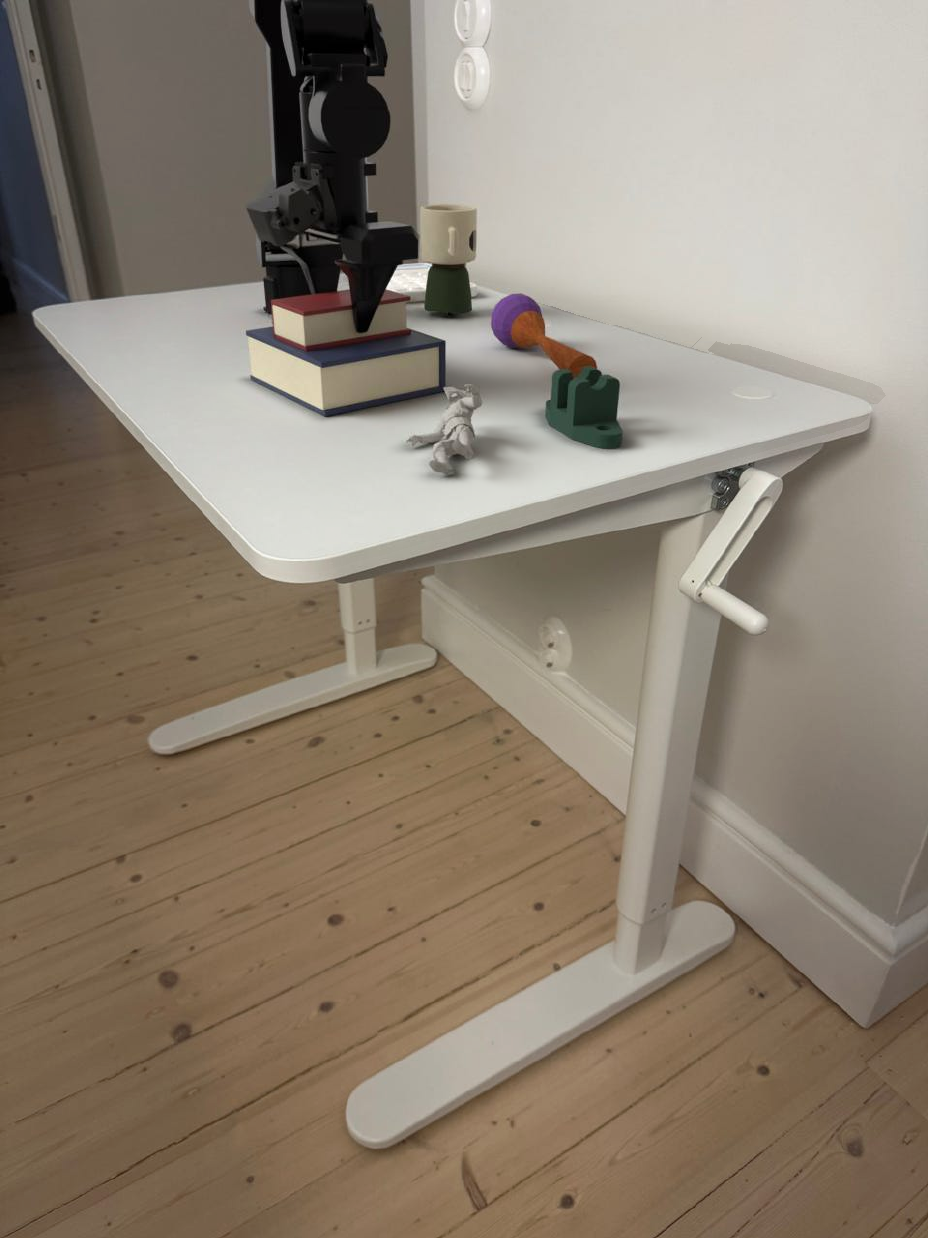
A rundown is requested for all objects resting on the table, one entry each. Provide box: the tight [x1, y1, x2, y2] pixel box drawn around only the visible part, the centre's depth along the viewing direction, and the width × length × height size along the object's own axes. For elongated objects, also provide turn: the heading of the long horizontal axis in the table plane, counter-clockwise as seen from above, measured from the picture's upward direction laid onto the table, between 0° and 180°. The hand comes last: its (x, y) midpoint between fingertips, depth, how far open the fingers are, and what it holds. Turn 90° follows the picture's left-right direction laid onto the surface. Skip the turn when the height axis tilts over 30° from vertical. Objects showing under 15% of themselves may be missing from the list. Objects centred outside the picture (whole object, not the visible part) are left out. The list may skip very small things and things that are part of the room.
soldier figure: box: [405, 383, 483, 477], centre depth 80 cm, size 8×5×12 cm
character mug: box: [419, 203, 478, 317], centre depth 122 cm, size 11×7×13 cm, turn 8°
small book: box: [271, 289, 412, 351], centre depth 94 cm, size 12×6×4 cm, turn 128°
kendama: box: [490, 293, 598, 378], centre depth 104 cm, size 6×6×20 cm
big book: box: [245, 326, 447, 417], centre depth 96 cm, size 14×15×5 cm
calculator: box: [386, 262, 479, 303], centre depth 140 cm, size 13×20×2 cm, turn 23°
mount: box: [544, 366, 624, 450], centre depth 85 cm, size 11×4×5 cm, turn 24°
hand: (343, 325), depth 94 cm, fingers open, 6 cm apart
